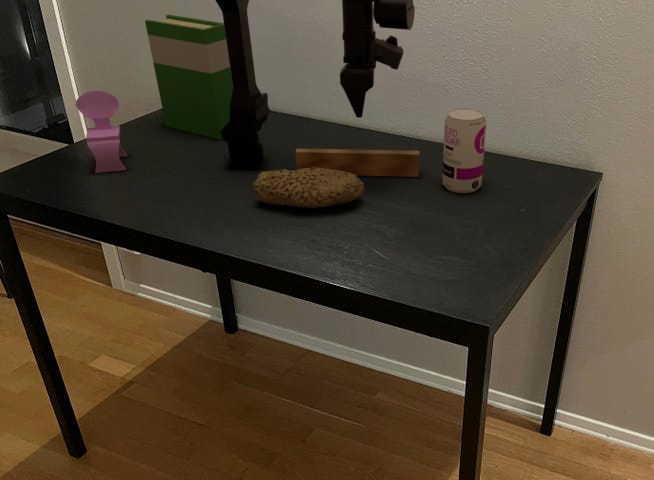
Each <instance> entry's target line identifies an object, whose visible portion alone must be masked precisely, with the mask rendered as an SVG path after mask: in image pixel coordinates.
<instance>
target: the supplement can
mask: <svg viewBox="0 0 654 480" xmlns="http://www.w3.org/2000/svg"><path fill="white" fill-rule="evenodd" d="M484 115H485V113H484V112H483V111H481V110H479V109H475V108H469V107H463V108H462V107H461V108H454V109H451V110H449V111H448V113H447V115H446V116H445V119H444V127H443V128H444V129H443V130H444V131H443V153H442V155H443V156H442V179H441V180H442V182H441V183H442V185H443V186H444V187H445V189H446V190H448V191H450V192H451V193H452V192H453V193H455V194H456V193H458V194H469V193H473V192H476V191H478V190H479V189H480V188H481V187H482V185H483V183H482V182H483V171H484V159H485V158H484V157H485V145H486V144H485V143H486V131H487V120H486V118H485V116H484Z"/></svg>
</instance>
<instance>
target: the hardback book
mask: <svg viewBox="0 0 654 480" xmlns="http://www.w3.org/2000/svg"><path fill="white" fill-rule="evenodd" d="M144 23H145V29H146V34H147V38H148V39H147V40H148V45H149V48H150V53H151V59H152V65H153V68H154V73H155V79H156V83H157V88H158V93H159V94H158V95H159V99H160V103H161V108H162V113H163V114H162V115H163V119H164V123H165V127H166V128H171V129H175V130H180V131H184V132H188V133H191V134H196V135H200V136H205V137H208V138H211V139H212V138H213V139H217V140H223V137H222V135H221V133H220V131H221V130H222V129H223V128H224V127H225V126H226V125H227V123H228V122H229V121H230V120H229V105H230V100H231V96H232V91H233V83H232V76H231V69H230V62H229V55H228V49H227V42H226V35H225V28H224V22H219V21H212V20H206V19H199V18H194V17H187V16H181V15H174V14H166V15H165V19H161V20H153V19H146V20H145V19H144Z"/></svg>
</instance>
